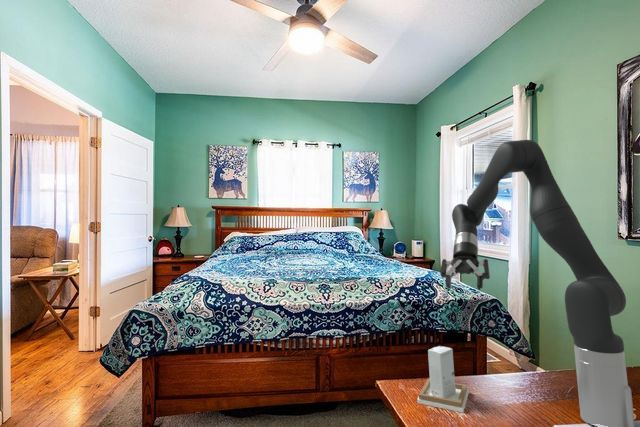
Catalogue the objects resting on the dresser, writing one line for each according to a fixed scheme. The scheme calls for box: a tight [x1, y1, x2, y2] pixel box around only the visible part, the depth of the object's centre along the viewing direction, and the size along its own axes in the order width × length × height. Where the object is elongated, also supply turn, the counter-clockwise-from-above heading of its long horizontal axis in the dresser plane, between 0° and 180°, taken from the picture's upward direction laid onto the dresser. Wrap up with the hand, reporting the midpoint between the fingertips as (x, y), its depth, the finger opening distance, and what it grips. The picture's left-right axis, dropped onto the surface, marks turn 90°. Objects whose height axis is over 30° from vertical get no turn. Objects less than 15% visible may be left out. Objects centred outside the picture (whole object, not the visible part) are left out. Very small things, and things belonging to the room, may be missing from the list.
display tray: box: [417, 377, 470, 414], centre depth 93 cm, size 12×12×2 cm
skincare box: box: [427, 345, 456, 398], centre depth 94 cm, size 6×4×12 cm
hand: (463, 287), depth 103 cm, fingers open, 8 cm apart
